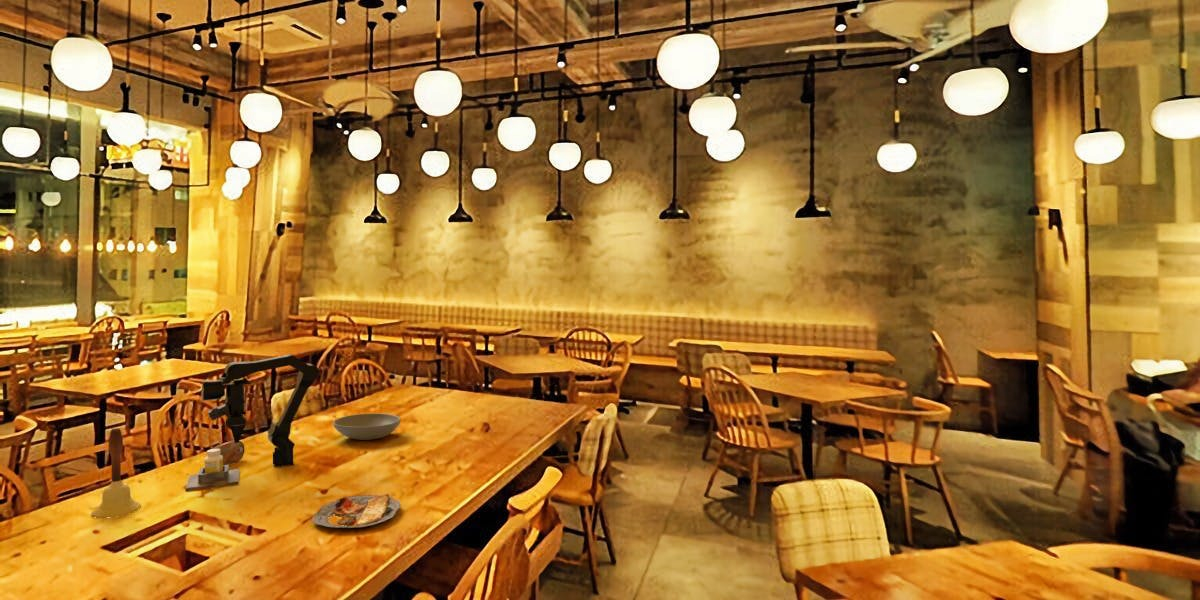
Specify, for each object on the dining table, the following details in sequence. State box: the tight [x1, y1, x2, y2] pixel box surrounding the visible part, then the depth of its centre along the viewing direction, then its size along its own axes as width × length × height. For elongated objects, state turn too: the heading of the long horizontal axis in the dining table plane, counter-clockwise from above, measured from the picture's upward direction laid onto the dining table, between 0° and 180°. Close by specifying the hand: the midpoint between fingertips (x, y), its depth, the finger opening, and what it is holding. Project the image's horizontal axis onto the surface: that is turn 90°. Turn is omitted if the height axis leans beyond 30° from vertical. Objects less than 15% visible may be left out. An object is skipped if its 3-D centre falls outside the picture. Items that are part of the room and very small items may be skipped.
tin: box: [211, 440, 246, 466], centre depth 232 cm, size 15×3×8 cm, turn 168°
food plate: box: [311, 493, 402, 529], centre depth 186 cm, size 25×23×4 cm
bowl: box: [332, 412, 402, 441], centre depth 273 cm, size 27×28×8 cm
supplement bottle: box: [204, 448, 223, 473], centre depth 214 cm, size 5×5×10 cm
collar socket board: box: [185, 465, 240, 492], centre depth 214 cm, size 15×15×4 cm
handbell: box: [90, 427, 143, 519], centre depth 186 cm, size 12×12×25 cm
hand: (236, 439), depth 224 cm, fingers open, 9 cm apart
